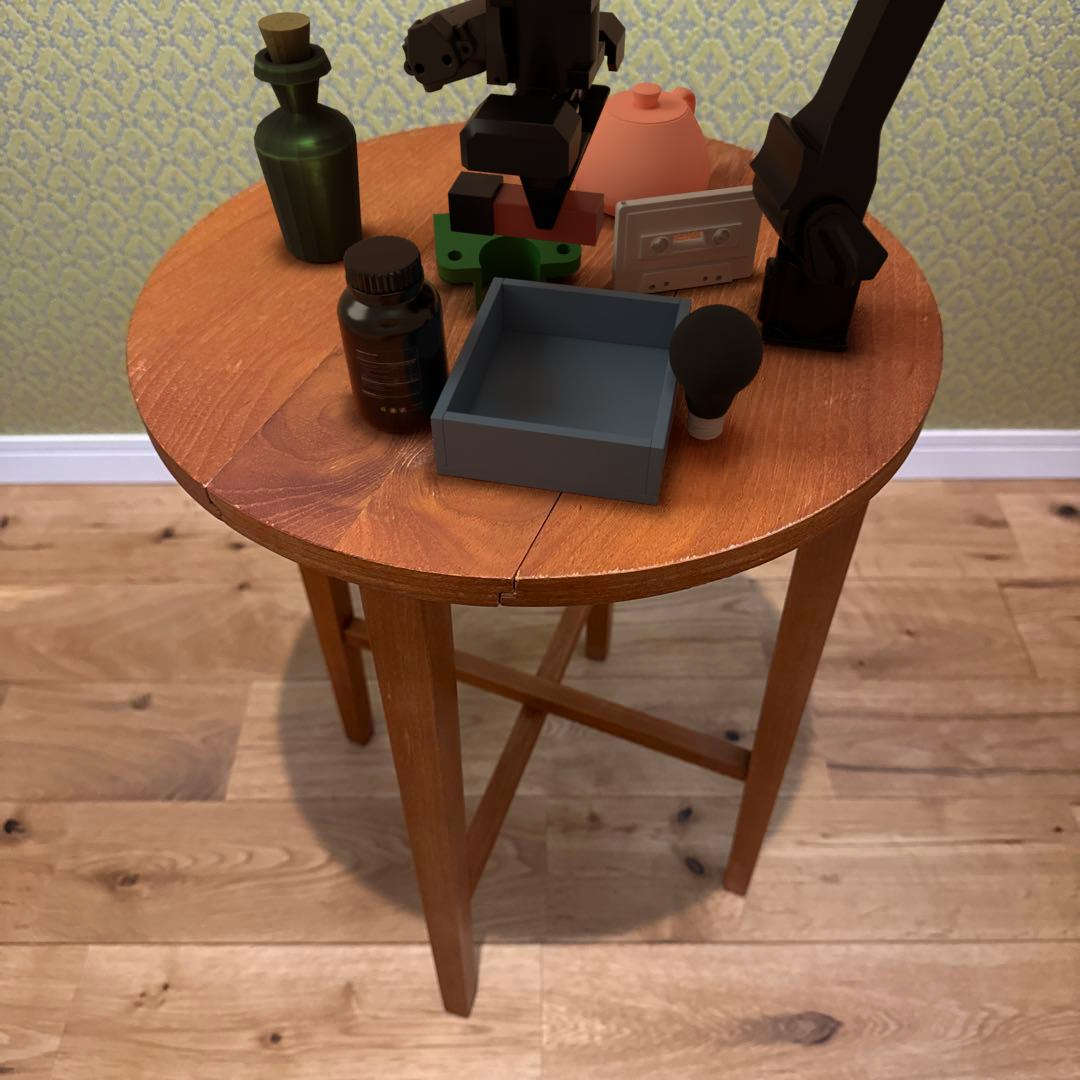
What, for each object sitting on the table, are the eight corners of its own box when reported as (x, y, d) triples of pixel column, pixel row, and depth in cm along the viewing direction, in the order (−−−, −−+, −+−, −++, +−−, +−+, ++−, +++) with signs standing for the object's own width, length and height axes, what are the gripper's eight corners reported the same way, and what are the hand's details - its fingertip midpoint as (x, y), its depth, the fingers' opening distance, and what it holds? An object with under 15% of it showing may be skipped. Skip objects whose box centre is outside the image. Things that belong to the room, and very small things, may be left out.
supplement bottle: (363, 375, 71) (337, 224, 62) (456, 376, 71) (443, 225, 62) (347, 435, 66) (317, 282, 58) (446, 437, 66) (431, 283, 58)
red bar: (603, 224, 66) (605, 186, 64) (594, 248, 64) (596, 209, 62) (463, 209, 68) (461, 170, 66) (450, 231, 66) (447, 192, 64)
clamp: (468, 348, 81) (416, 278, 73) (463, 294, 84) (412, 222, 76) (603, 299, 77) (563, 221, 70) (593, 245, 80) (554, 165, 73)
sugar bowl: (545, 204, 89) (544, 90, 81) (636, 152, 96) (643, 42, 89) (653, 249, 83) (664, 130, 76) (741, 189, 91) (759, 76, 83)
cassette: (746, 268, 81) (760, 180, 76) (754, 279, 80) (770, 191, 74) (608, 287, 79) (613, 198, 74) (615, 299, 78) (620, 210, 72)
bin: (685, 354, 73) (692, 298, 69) (657, 505, 62) (663, 448, 58) (496, 331, 75) (494, 276, 71) (436, 474, 64) (430, 417, 60)
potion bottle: (344, 276, 80) (305, 47, 67) (259, 259, 82) (204, 33, 69) (388, 230, 86) (359, 9, 73) (307, 214, 88) (264, -3, 75)
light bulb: (686, 476, 64) (704, 349, 56) (644, 423, 67) (656, 298, 60) (762, 452, 65) (789, 326, 58) (717, 402, 69) (737, 277, 62)
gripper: (459, -98, 61) (473, 145, 73) (353, 1, 49) (389, 275, 60) (633, -87, 60) (619, 160, 71) (568, 18, 47) (564, 297, 58)
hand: (549, 217), depth 65 cm, fingers closed on red bar, 3 cm apart
